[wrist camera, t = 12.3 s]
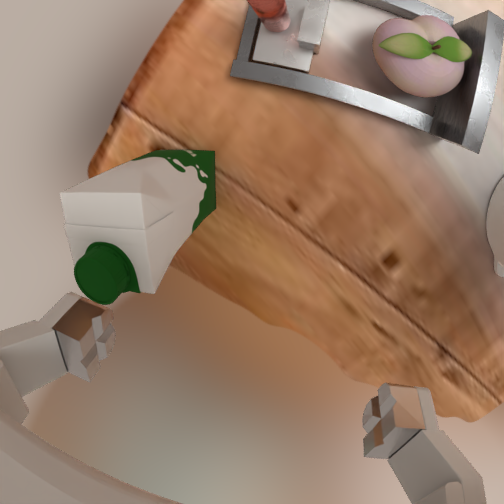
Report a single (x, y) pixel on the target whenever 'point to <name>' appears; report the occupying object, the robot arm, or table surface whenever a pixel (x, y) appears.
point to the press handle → (289, 31)
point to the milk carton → (136, 220)
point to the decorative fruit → (420, 55)
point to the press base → (440, 125)
